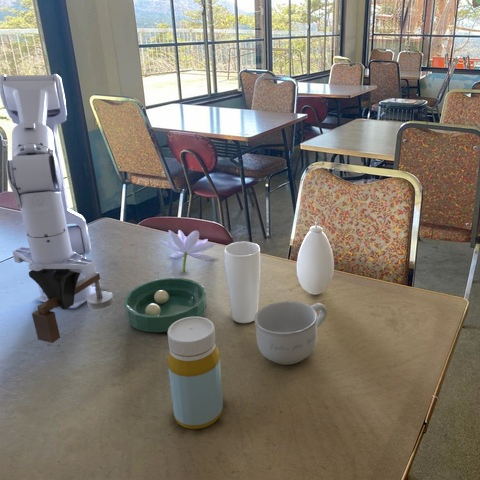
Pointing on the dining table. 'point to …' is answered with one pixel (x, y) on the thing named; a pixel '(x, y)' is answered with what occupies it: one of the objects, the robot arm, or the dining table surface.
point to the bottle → (194, 372)
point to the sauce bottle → (315, 261)
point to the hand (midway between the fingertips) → (63, 305)
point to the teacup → (288, 330)
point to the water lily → (188, 246)
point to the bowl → (177, 307)
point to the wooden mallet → (45, 317)
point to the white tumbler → (243, 279)
